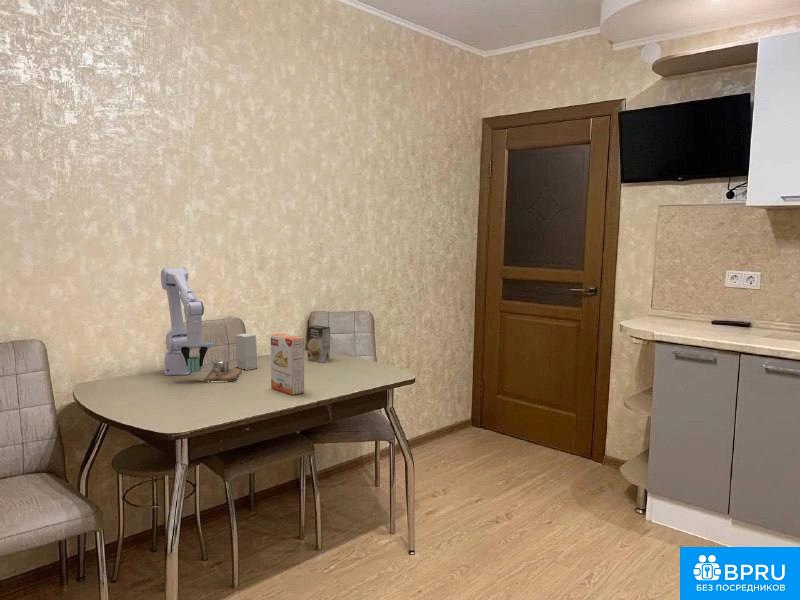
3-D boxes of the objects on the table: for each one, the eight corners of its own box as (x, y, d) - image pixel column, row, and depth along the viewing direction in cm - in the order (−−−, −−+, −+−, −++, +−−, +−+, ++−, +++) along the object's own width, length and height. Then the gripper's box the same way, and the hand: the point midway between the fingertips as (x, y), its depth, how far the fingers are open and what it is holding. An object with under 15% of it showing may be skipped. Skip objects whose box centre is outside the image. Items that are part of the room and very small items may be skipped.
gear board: (204, 382, 246) (204, 371, 246) (212, 372, 264) (212, 361, 263) (235, 382, 248) (235, 370, 247) (241, 372, 265) (241, 361, 265)
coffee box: (306, 360, 291) (306, 326, 290) (315, 358, 297) (315, 324, 295) (321, 363, 287) (322, 328, 285) (330, 360, 292) (330, 326, 290)
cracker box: (270, 388, 238) (269, 334, 236) (283, 386, 242) (283, 332, 240) (291, 395, 228) (291, 339, 226) (304, 393, 232) (304, 337, 230)
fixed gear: (211, 372, 257) (211, 361, 256) (214, 369, 263) (214, 358, 262) (227, 372, 257) (227, 360, 257) (229, 369, 264) (229, 357, 263)
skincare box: (257, 368, 272) (257, 335, 271) (245, 370, 268) (245, 336, 267) (247, 365, 278) (247, 332, 277) (235, 367, 274) (235, 333, 273)
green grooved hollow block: (187, 372, 244) (187, 359, 244) (190, 368, 250) (190, 356, 249) (199, 371, 245) (198, 359, 244) (201, 368, 250) (201, 356, 250)
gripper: (172, 333, 241) (173, 368, 242) (211, 333, 242) (211, 368, 244) (176, 330, 248) (177, 364, 249) (214, 330, 249) (214, 364, 251)
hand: (194, 366), depth 247 cm, fingers closed on green grooved hollow block, 4 cm apart
